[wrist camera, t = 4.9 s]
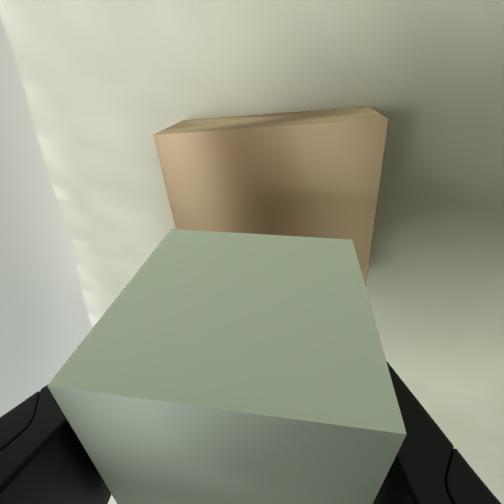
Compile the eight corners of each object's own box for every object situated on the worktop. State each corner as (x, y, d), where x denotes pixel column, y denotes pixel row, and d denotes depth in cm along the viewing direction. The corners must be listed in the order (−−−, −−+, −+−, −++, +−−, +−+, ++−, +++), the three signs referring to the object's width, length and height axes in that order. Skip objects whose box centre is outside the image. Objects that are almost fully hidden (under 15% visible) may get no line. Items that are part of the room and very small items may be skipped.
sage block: (352, 239, 8) (406, 434, 4) (328, 363, 11) (345, 558, 6) (171, 228, 9) (47, 386, 4) (191, 348, 11) (125, 517, 7)
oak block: (367, 105, 14) (388, 118, 11) (351, 265, 19) (362, 308, 15) (185, 119, 16) (153, 134, 12) (212, 264, 20) (194, 304, 17)
